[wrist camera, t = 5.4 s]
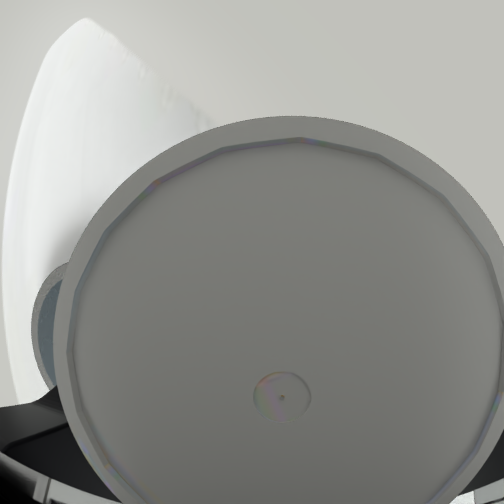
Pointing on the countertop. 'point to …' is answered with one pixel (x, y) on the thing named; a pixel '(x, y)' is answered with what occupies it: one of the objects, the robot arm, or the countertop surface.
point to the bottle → (285, 323)
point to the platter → (46, 324)
